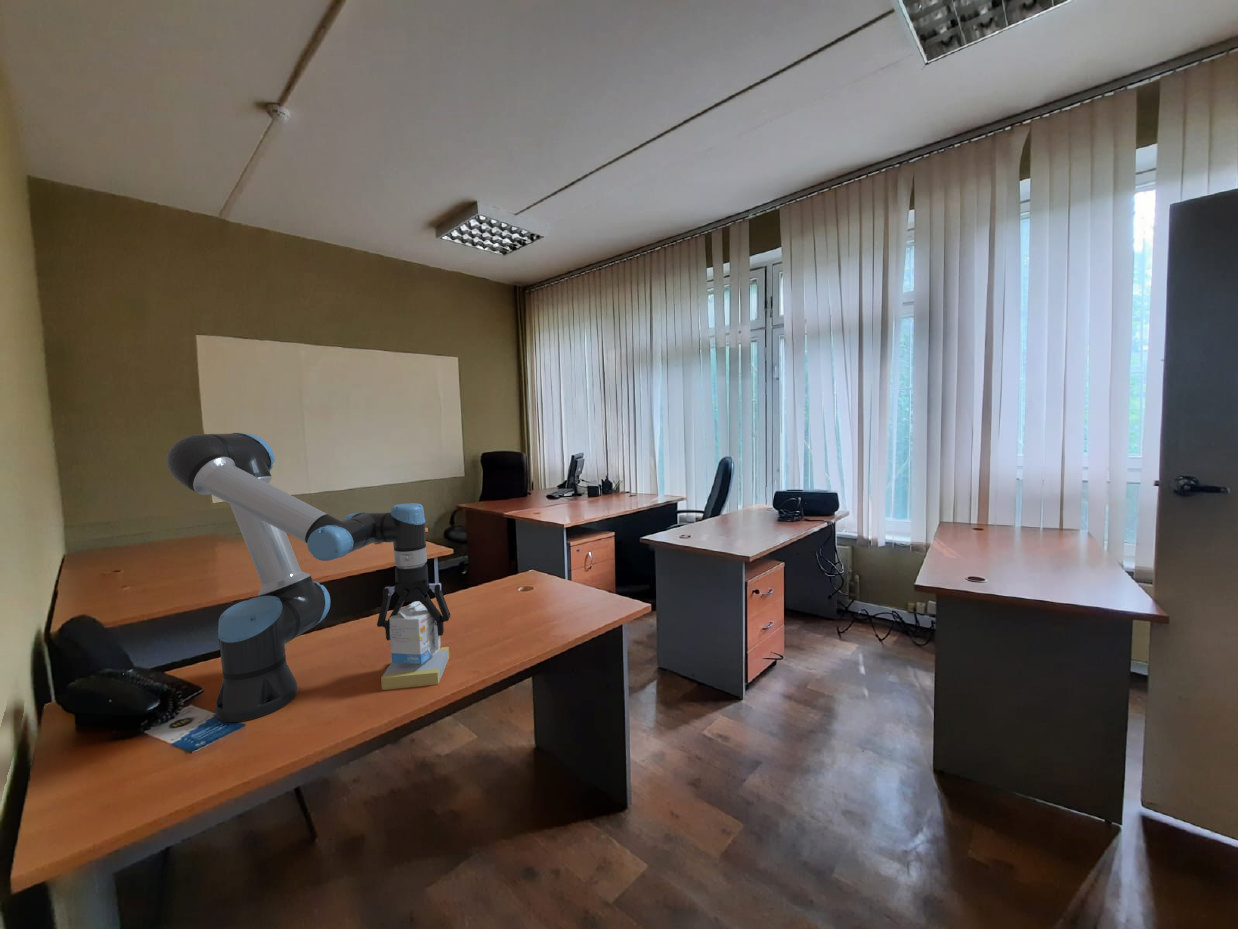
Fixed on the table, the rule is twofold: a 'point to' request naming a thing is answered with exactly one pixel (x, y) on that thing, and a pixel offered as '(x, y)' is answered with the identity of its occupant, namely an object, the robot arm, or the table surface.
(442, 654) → the dock
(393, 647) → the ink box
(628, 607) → the table surface
